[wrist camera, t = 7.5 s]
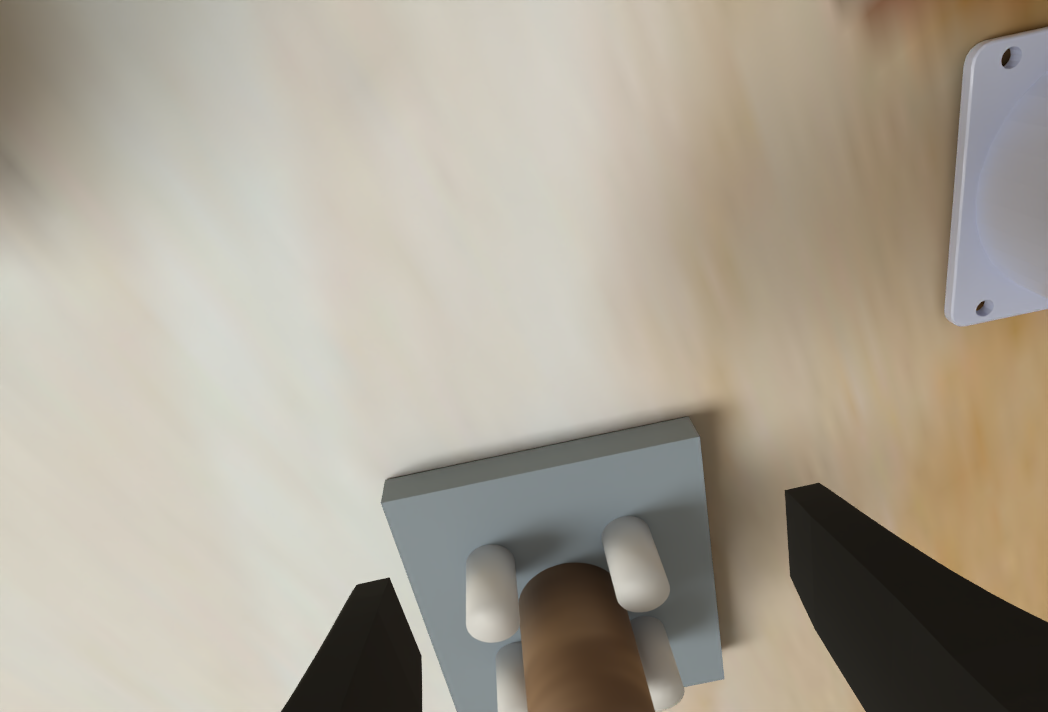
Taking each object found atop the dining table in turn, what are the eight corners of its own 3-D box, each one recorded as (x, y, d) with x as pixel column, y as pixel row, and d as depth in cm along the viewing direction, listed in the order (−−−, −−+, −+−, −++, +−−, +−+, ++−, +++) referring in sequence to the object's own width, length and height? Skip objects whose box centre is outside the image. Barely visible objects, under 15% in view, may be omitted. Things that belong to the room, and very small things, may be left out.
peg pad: (688, 416, 22) (727, 485, 19) (714, 652, 27) (748, 740, 24) (385, 480, 22) (371, 559, 19) (464, 703, 27) (463, 798, 24)
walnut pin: (638, 573, 23) (689, 737, 18) (601, 648, 25) (639, 821, 19) (537, 553, 23) (559, 718, 17) (505, 632, 24) (516, 807, 19)
